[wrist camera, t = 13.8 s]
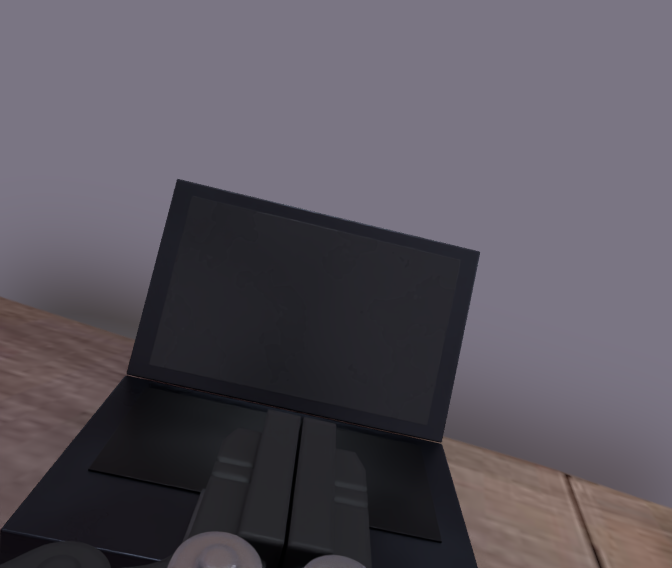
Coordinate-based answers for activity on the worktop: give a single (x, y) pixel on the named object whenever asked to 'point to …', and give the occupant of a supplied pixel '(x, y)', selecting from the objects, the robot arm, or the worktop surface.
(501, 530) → the worktop surface
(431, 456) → the laptop
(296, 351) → the laptop screen
